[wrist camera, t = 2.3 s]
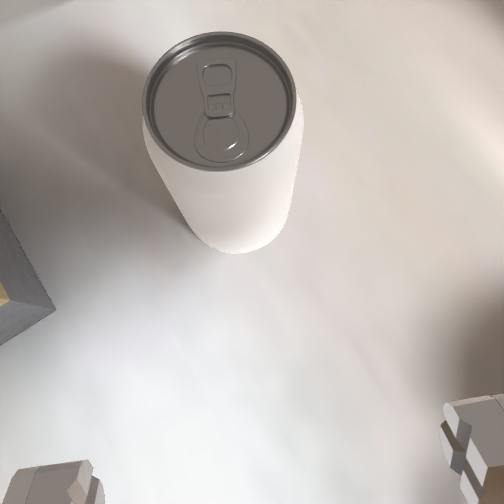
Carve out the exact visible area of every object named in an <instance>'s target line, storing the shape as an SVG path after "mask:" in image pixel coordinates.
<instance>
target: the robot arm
mask: <svg viewBox="0 0 504 504" xmlns="http://www.w3.org/2000/svg"><path fill="white" fill-rule="evenodd" d="M442 413H443V415H444V417H445V419H446V420H445V421H444V422H443V423H442V424H441V425H440V434H439V436H440V442H441V447H442V450H443V453H444V456H445V458H446V460H447V462H448V464H449V466H450V468H451V469H453V470H454V471H455V472H457V473H458V474H460V475H461V476H462V477H461V482H460V489H461V491H462V493H463V495H464V497H465V499H466V501H467V503H468V504H504V393H501V394H496V395H490V396H488V395H486V396H480V397H474V398H468V399H463V400H457V401H451V402H446V403H445V405H444V406H443V412H442ZM92 472H93V467H92V465H91V463H90V462H89V460H81V461H74V462H67V463H60V464H53V465H46V466H37V467H31V468H25V469H18V471H17V472H16V473H15V475H14V476H13V477H12V479H11V482H10V484H9V487H8V490H7V492H6V495H5V497H4V500H3V503H2V504H105V494H104V490H103V485H102V484H101V482H100V480H99V479H98V478H96V477H94V476H92Z"/></svg>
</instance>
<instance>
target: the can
mask: <svg viewBox="0 0 504 504" xmlns="http://www.w3.org/2000/svg"><path fill="white" fill-rule="evenodd" d="M142 108H143V136H144V140H145V144H146V147H147V150H148V153H149V155H150V157H151V159H152V161H153V164H154V165H155V167H156V169H157V171H158V173H159V175H160V176H161V178H162V180H163V182H164V183H165V185H166V187H167V189H168V190H169V192H170V194H171V196H172V197H173V199H174V201H175V203H176V204H177V206H178V208H179V209H180V211H181V213H182V215H183V216H184V218H185V220H186V221H187V223H188V225H189V226H190V228H191V229H192V231H193V232H194V233H195V235H196V236H197V237H198V238H199V239H200V240H201V241H202V242H204V243H205V244H206V245H208V246H210V247H211V248H213V249H216V250H218V251H221V252H224V253H230V254H239V253H246V252H250V251H253V250H256V249H259V248H261V247H263V246H265V245H266V244H268V243H269V242H271V241H272V240H273V239H274V238H275V237H276V236H277V235H278V234H279V232H280V231H281V229H282V228H283V226H284V224H285V222H286V220H287V217H288V213H289V209H290V204H291V199H292V194H293V189H294V184H295V178H296V173H297V167H298V162H299V156H300V150H301V144H302V137H303V128H304V120H303V109H302V104H301V101H300V98H299V95H298V93H297V91H296V88H295V84H294V80H293V77H292V75H291V72H290V70H289V69H288V67H287V65H286V64H285V62H284V61H283V60H282V58H281V57H280V56H279V55H278V54H277V53H276V52H275V51H274V50H273V49H271V48H270V47H269V46H267V45H266V44H264V43H263V42H261V41H259V40H257V39H255V38H252V37H250V36H247V35H244V34H239V33H234V32H209V33H204V34H200V35H196V36H193V37H191V38H188V39H186V40H184V41H182V42H180V43H178V44H177V45H175V46H174V47H172V48H171V49H170V50H168V51H167V52H166V53H165V54H164V55H163V56H162V57H161V58H160V59H159V60H158V62H157V63H156V64H155V66H154V67H153V69H152V70H151V72H150V74H149V76H148V78H147V81H146V84H145V87H144V91H143V99H142Z"/></svg>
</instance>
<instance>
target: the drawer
mask: <svg viewBox="0 0 504 504" xmlns="http://www.w3.org/2000/svg"><path fill="white" fill-rule="evenodd" d="M55 310H56V309H55V307H54V305H53V303H52V302H51V300H50V298H49V296H48V294H47V293H46V291H45V289H44V287H43V285H42V284H41V282H40V280H39V278H38V277H37V275H36V273H35V271H34V269H33V268H32V266H31V264H30V262H29V260H28V259H27V257H26V255H25V253H24V251H23V250H22V248H21V246H20V244H19V243H18V241H17V239H16V237H15V235H14V234H13V232H12V230H11V228H10V226H9V225H8V223H7V221H6V219H5V217H4V216H3V214H2V212H1V210H0V345H2V344H3V343H5V342H6V341H8V340H10V339H11V338H13V337H14V336H16V335H17V334H19V333H21V332H22V331H24V330H25V329H27V328H29V327H30V326H32V325H33V324H35V323H36V322H38V321H40V320H41V319H43V318H44V317H46V316H47V315H49V314H51V313H52V312H54V311H55Z"/></svg>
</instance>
